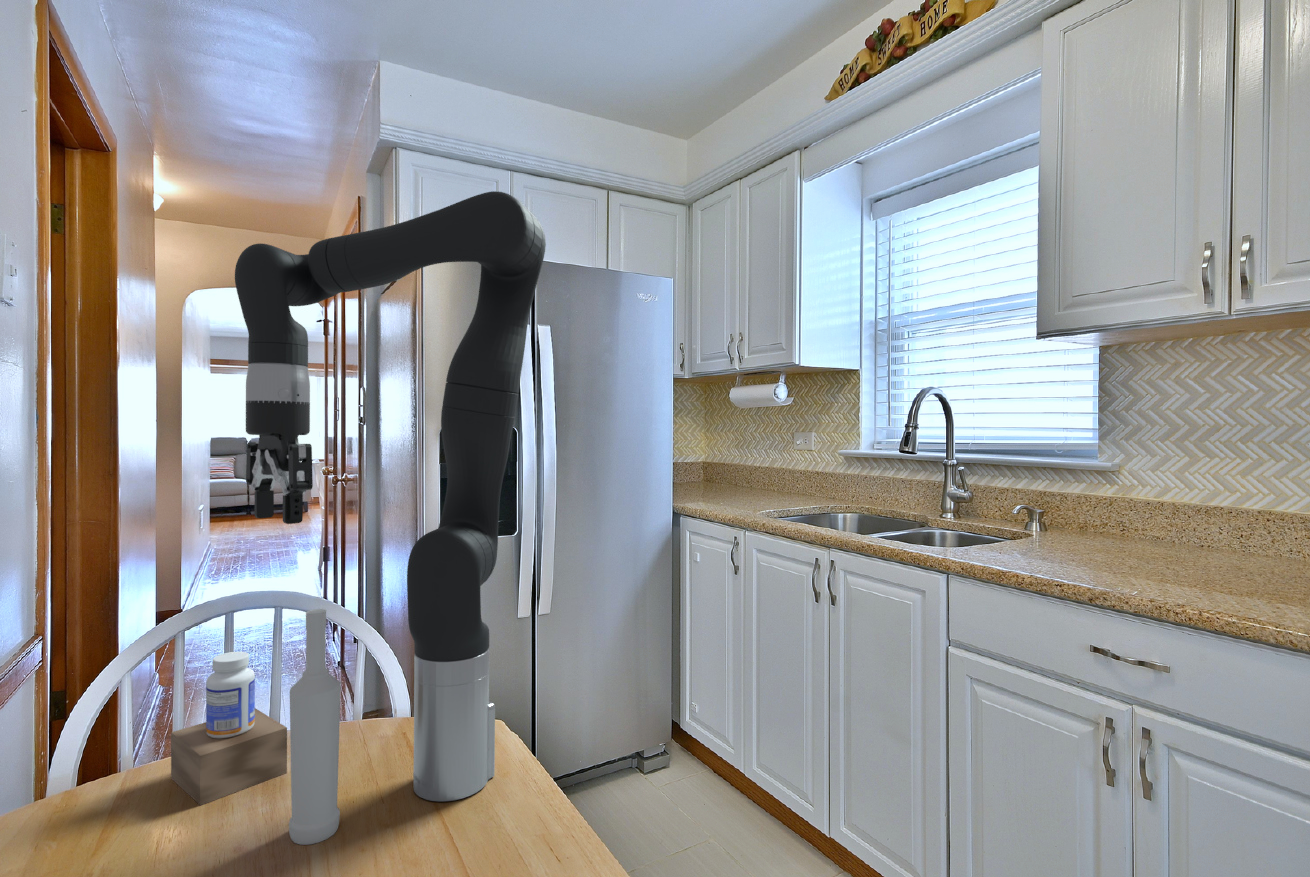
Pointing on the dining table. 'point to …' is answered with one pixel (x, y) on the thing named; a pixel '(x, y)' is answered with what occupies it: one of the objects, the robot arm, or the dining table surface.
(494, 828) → the dining table surface
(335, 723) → the bottle
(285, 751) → the walnut block
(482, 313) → the robot arm
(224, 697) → the pill bottle
